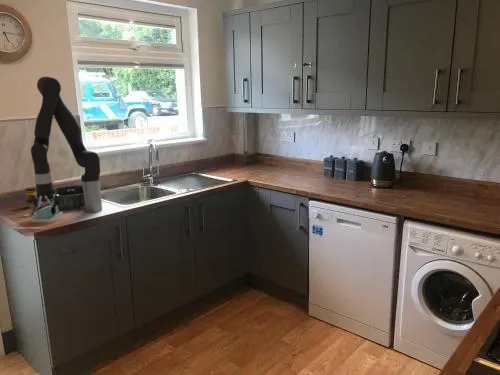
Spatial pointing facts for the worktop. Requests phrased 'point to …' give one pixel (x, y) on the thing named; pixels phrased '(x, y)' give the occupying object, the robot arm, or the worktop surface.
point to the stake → (31, 211)
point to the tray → (47, 219)
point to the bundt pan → (69, 197)
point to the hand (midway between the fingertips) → (47, 213)
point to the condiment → (29, 193)
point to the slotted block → (46, 212)
